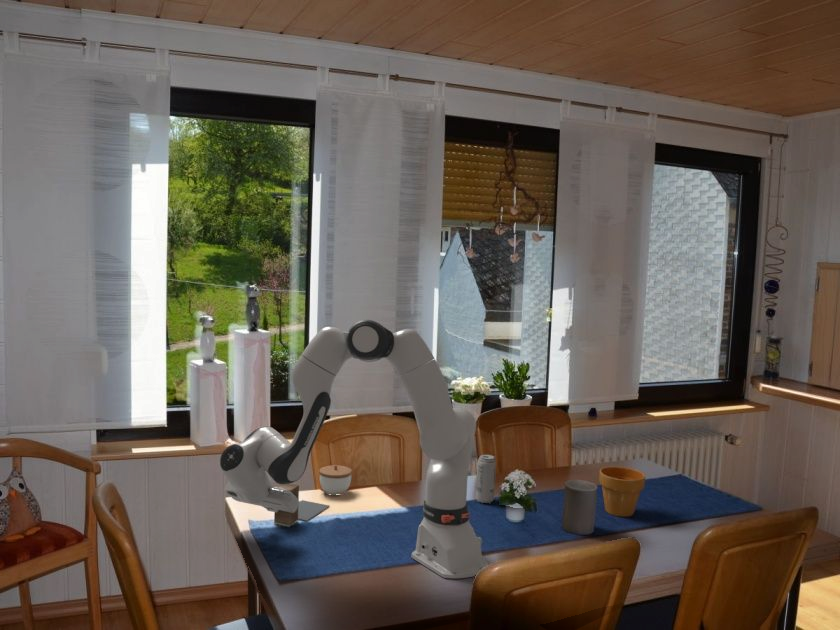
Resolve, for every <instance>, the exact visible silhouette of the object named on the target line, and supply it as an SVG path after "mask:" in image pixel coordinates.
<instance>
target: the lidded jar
mask: <svg viewBox="0 0 840 630" xmlns="http://www.w3.org/2000/svg"><path fill="white" fill-rule="evenodd" d="M318 471H319V484H320V487H321V489H322V490H323V492H324V493H325V494H326V493H327V494H331V495H336V494H342V493H344V494H345V493H346V492H347V490H348V489H349V488H350V486H351V481H352V474H353V470H352V469H351V468H350V467H348V466H345V465H337V464H334V465H326V466H323V467H321V468H319V470H318ZM327 494H326V495H327ZM331 495H330V496H331Z"/></svg>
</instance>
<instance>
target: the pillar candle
mask: <svg viewBox="0 0 840 630" xmlns="http://www.w3.org/2000/svg"><path fill="white" fill-rule="evenodd" d="M597 494H598V485H596V484H595V483H594V482H590V481H588V480H582V479H570V480H567V481H565V483H564V493H563V507H562V518H561V528H562V530H564V531H566V532H567V533H570V534H574V535H580V536H583V535H590V534H592V533H594V530H595V519H596V505H597V497H598V495H597Z"/></svg>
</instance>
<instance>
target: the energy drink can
mask: <svg viewBox="0 0 840 630" xmlns="http://www.w3.org/2000/svg"><path fill="white" fill-rule="evenodd" d="M496 466H497V462H496V460H495V456H494V455H491V454H481V455H479V458H478V460H477V467H476V468H477V469H476V485H475V487H476V488H475V499H476V501H477V502H478V503H479V502H481V503H480V504H483V503H489V504H491V502H492V503H493V501H494V500H495V490H496V489H495V486H496V485H495V484H496V470H497V469H496Z"/></svg>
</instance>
